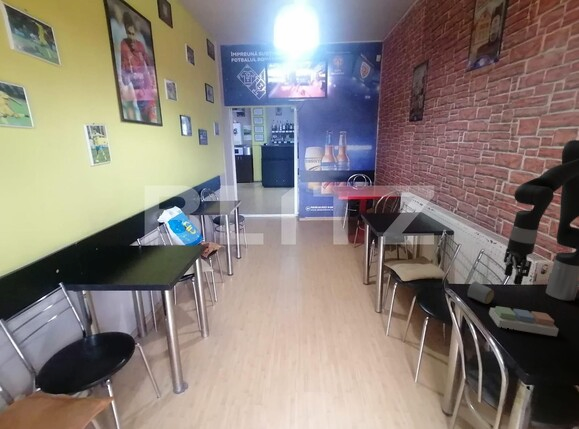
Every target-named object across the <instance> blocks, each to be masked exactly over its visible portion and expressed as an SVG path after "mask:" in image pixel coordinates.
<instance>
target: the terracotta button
mask: <svg viewBox="0 0 579 429" xmlns="http://www.w3.org/2000/svg"><path fill="white" fill-rule="evenodd" d="M530 313H531V314H532V315H533V316H534V318H535V320H534V321H535V322H536V323H537V324H542V325H548V326H553V324H554V323H555V319H553V318H552V317H551V316H550V315H549V314H548V313H546V312H539V311H530ZM554 325H555V324H554Z"/></svg>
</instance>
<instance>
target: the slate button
mask: <svg viewBox="0 0 579 429" xmlns="http://www.w3.org/2000/svg"><path fill="white" fill-rule="evenodd" d="M512 311H513V312H514V313H515V315H516V317H515V318H516V319H517V320H518V321H522V322H529V323H534V320H535V318H534V316H533V315H532V314H531V311H529V310H526V309H519V308H512Z"/></svg>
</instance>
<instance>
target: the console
mask: <svg viewBox="0 0 579 429" xmlns="http://www.w3.org/2000/svg"><path fill="white" fill-rule="evenodd" d="M488 315H489V316H490V318H491V319H492V321H493V322H494V324H495V325H496V326H497V327H498V328H501V327H502V328H503V329H507V328H509V330H513V329H514V330H515V331H520V332H525V333H526V332H527V333H533V334H539V335H545V336H550V337H552V336H553V337H558V332H559V330H560V329H559V328H558V327H557V326H556V325H555V324H553V326H548V325H542V324H537V323H536V322H535V321H534V323H529V322H522V321H518V320H517V319H516V318H515V320H509V319H503V318H499V317H498V315H497V314H496V313H495V307H490V308H489V311H488ZM514 330H513V331H514Z"/></svg>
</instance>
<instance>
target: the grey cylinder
mask: <svg viewBox="0 0 579 429" xmlns="http://www.w3.org/2000/svg"><path fill="white" fill-rule="evenodd" d="M467 297H469V298H471V299H473V300H476V301H478V302H480V303H482V304H485V305H487V304H490V303H491V302H492V301H493V299H494V297H495V291H494V290H493V289H492V288H491V287H488V286H487V285H484V284H482V283H480V282H478V281H473V282H471V283H470V285H469V287H468V289H467Z"/></svg>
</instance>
